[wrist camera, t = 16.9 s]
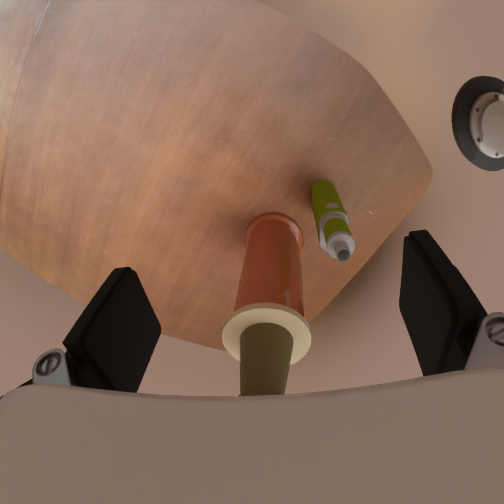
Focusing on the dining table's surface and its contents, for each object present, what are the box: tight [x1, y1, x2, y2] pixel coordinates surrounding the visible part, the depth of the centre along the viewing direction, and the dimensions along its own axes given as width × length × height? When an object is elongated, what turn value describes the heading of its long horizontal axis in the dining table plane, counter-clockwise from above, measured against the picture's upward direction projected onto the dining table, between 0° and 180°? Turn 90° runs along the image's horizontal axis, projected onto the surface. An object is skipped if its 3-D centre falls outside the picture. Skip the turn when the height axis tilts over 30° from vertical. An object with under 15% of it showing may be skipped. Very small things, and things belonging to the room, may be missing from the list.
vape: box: [312, 180, 355, 262], centre depth 42 cm, size 4×6×20 cm, turn 6°
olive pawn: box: [239, 323, 294, 396], centre depth 30 cm, size 6×6×11 cm
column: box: [222, 213, 311, 365], centre depth 45 cm, size 10×10×24 cm
